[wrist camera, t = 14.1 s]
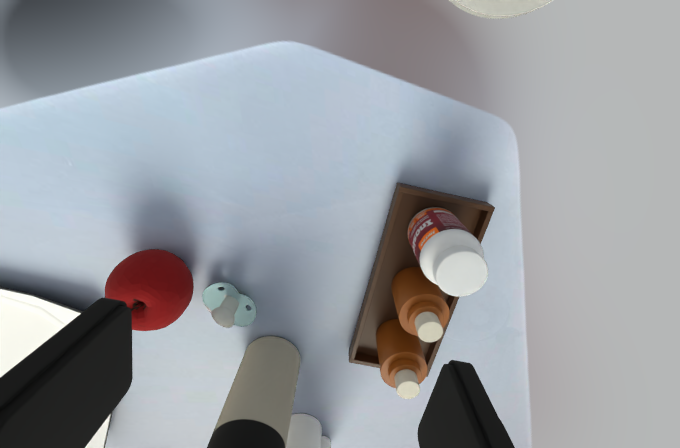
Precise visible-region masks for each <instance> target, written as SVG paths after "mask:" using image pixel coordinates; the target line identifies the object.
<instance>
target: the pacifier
mask: <svg viewBox="0 0 680 448" xmlns="http://www.w3.org/2000/svg"><path fill="white" fill-rule="evenodd" d="M218 287H224V288H225V289H224V290H220V289H218ZM202 297H203V298H202V299H203V302H204V303H205V306H206V307H207V309H208V310H209V312H210V313H211V314H212V317H213V319H214V320H215V321H216V322H217V323H218V324H219V325H221V326H223V327H225V328H230V327H232V326H233V325H236V326H240V327H244V326H248V325H250V324H252V323H253V321H254V320H255V317H256V313H257V311H256V306H255V304H254V302H253V301H252V299H251V298H249V297H248V296H246V295H243V294H240V293H239V292H238V291H237V289H236V288H235V287H234V286H233V285H231V284H229V283H225V282H218V283H214V284H212V285H210V286H208V287H207V288H206V289H205V290H204V292H203V295H202ZM246 305H249V306H250V307H251V310H248V309H247V308H246Z"/></svg>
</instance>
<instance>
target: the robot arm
mask: <svg viewBox="0 0 680 448" xmlns="http://www.w3.org/2000/svg"><path fill="white" fill-rule="evenodd" d="M131 382H132V311H131V308H129V307H127V304H126V302H124V301H120V300H115V299H109V298H101V299H99V300H97V301H96V302H95V303H94V304H92V305H91V306H90V307H89V308H87V309H86V310H85V311H84V312H82V313H81V314H80V315H78V316H77V317H76V318H75V319H73V320H72V321H71V322H70V323H68V324H67V325H66V326H65V327H63V328H62V329H61V330H60V331H58V332H57V333H56V334H55V335H53V336H52V337H51V338H49V339H48V340H47V341H46V342H44V343H43V344H42V345H41V346H39V347H38V348H37V349H36V350H34V351H33V352H32V353H31V354H29V355H28V356H27V357H26V358H24V359H23V360H22V361H20V362H19V363H18V364H17V365H15V366H14V367H13V368H12V369H10V370H9V371H8V372H7V373H5V374H4V375H3V376H2V377H0V448H85V447H86V446H87V444H88V443H89V442H90V440H91V439H92V438H93V436H94V435H95V434H96V432H97V431H98V430H99V428H100V427H101V426H102V424H103V423H104V422H105V420H106V419H107V418H108V416H109V415H110V414H111V413H112V411H113V410H114V409H115V407H116V406H117V405H118V403H119V402H120V401H121V399H122V398H123V397H124V395H125V394H126V393H127V391H128V389H129V387H130V385H131ZM418 441H419V446H420V448H515V447H514V445H513V443H512V441H511V439H510V437H509V435H508V433H507V431H506V429H505V427H504V425H503V424H502V422H501V420H500V419H499V418H498V416H497V414H496V412H495V409H494V407H493V405H492V403H491V401H490V399H489V397H488V395H487V393H486V391H485V389H484V387H483V385H482V383H481V381H480V379H479V377H478V375H477V373H476V371H475V369H474V367H473V366H472V364H470V363H466V362H460V361H455V360H451V361H450V362H449V363H448V364H444V365H443V367H442V369H441V372H440V374H439V377H438V379H437V382H436V384H435V387H434V389H433V392H432V394H431V397H430V399H429V402H428V404H427V407H426V409H425V412H424V414H423V417H422V419H421V422H420V424H419V427H418Z"/></svg>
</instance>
